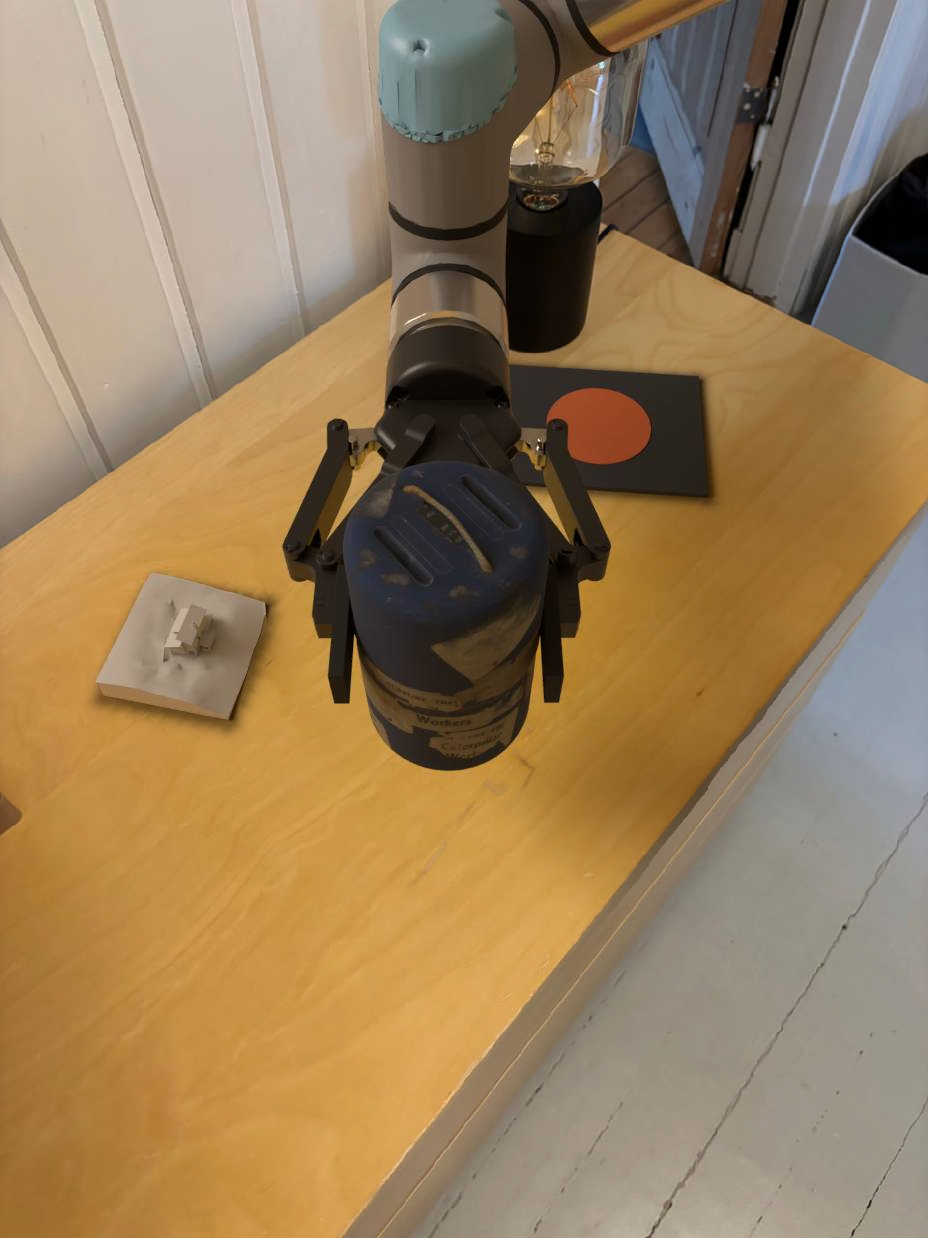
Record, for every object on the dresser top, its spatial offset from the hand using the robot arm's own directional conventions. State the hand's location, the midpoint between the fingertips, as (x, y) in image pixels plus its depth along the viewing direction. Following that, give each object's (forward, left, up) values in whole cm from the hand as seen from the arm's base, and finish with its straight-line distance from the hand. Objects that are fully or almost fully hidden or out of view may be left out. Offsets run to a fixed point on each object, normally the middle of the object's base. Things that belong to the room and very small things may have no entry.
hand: (446, 690), depth 45 cm
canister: (0, -4, -10) cm, 11 cm away
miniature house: (+20, -12, -20) cm, 31 cm away
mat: (-10, -37, -20) cm, 43 cm away
